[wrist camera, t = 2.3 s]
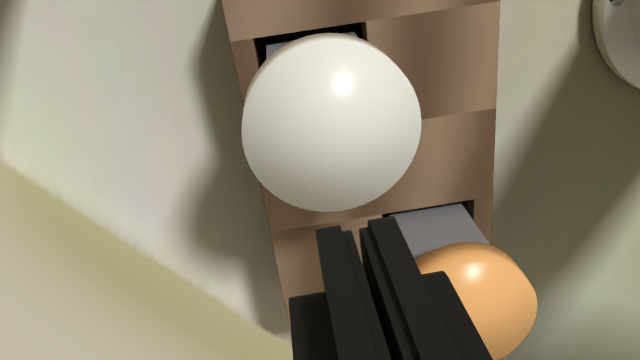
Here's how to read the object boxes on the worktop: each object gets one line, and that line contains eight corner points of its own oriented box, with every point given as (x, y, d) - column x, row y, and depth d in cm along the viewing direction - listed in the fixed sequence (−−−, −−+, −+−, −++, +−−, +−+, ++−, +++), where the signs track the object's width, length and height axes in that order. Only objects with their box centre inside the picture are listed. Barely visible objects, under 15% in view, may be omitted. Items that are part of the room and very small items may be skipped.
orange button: (482, 179, 27) (543, 252, 21) (479, 273, 30) (532, 360, 24) (365, 198, 27) (393, 276, 21) (374, 290, 30) (401, 382, 24)
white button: (377, 0, 22) (418, 28, 16) (386, 132, 25) (424, 197, 19) (234, 21, 22) (223, 58, 16) (260, 152, 25) (259, 223, 19)
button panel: (461, -65, 26) (502, -61, 21) (460, 254, 35) (488, 303, 30) (225, -30, 25) (217, -20, 21) (288, 283, 34) (291, 336, 30)
